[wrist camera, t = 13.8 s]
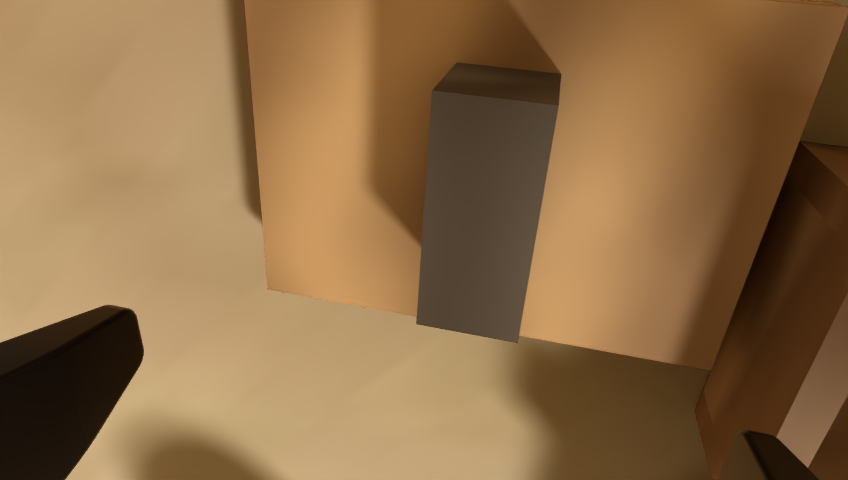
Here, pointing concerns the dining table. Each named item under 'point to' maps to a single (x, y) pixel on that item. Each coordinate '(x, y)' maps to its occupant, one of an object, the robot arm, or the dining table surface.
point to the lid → (532, 159)
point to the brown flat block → (790, 327)
